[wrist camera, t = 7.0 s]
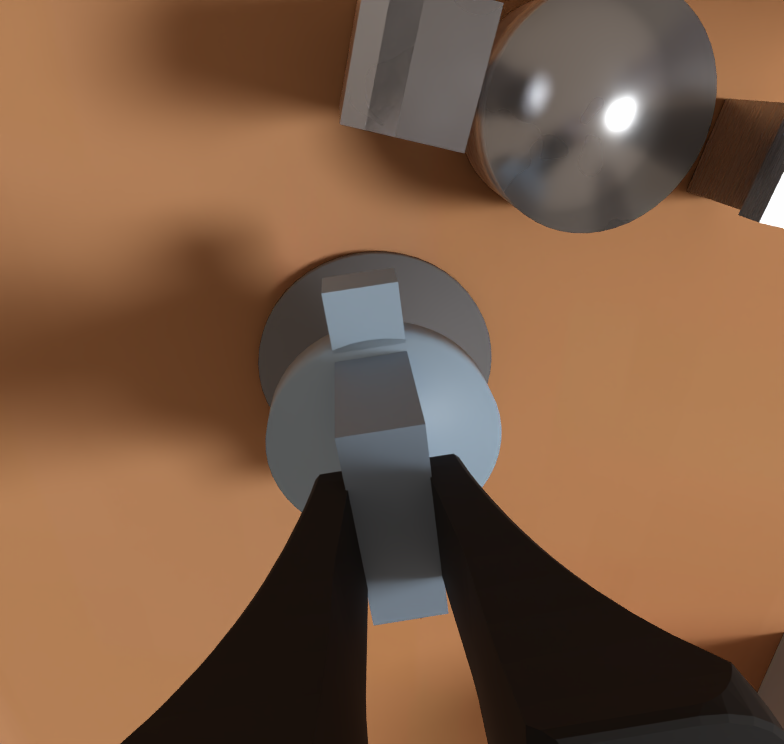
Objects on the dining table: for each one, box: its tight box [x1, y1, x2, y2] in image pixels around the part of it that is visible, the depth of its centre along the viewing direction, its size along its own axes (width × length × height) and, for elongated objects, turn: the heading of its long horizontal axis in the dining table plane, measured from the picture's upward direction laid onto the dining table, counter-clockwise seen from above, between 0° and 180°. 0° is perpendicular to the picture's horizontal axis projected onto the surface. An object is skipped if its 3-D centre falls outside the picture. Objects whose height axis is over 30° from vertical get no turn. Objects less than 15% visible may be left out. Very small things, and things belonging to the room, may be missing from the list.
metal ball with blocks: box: [339, 0, 784, 233], centre depth 13 cm, size 11×5×5 cm, turn 77°
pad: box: [258, 252, 491, 408], centre depth 18 cm, size 7×7×1 cm
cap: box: [266, 267, 501, 625], centre depth 13 cm, size 8×6×4 cm
